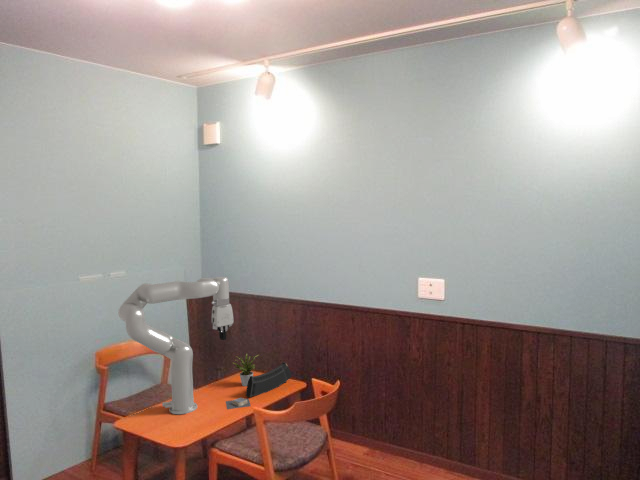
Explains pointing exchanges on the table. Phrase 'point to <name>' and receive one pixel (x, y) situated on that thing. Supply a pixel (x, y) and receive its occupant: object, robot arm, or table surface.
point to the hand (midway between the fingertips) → (223, 339)
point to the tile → (239, 401)
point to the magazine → (268, 380)
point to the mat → (232, 406)
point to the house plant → (245, 370)
